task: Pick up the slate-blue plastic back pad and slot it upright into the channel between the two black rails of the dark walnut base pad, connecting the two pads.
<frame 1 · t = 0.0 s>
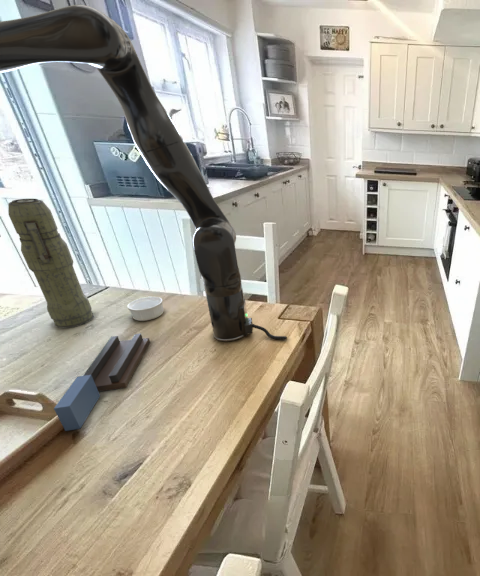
ramekin: (148, 315, 101), on the table
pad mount: (117, 365, 80), on the table
olive green tall column: (75, 320, 96), on the table
back pad: (83, 412, 67), on the table
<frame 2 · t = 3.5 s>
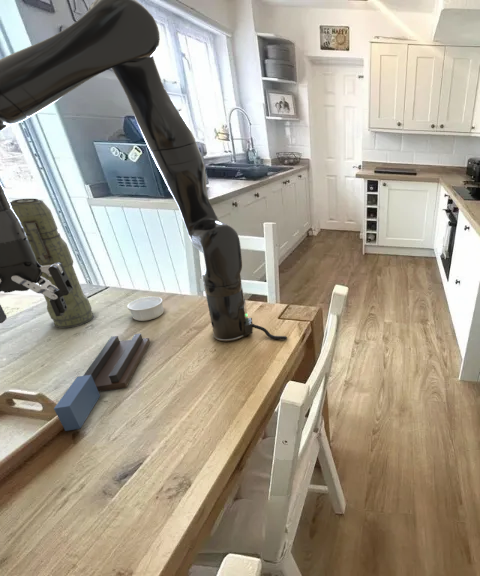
hand: (32, 317, 62), 20 cm above the table, tool pointing down, fingers open, 8 cm apart
nothing on the table moved.
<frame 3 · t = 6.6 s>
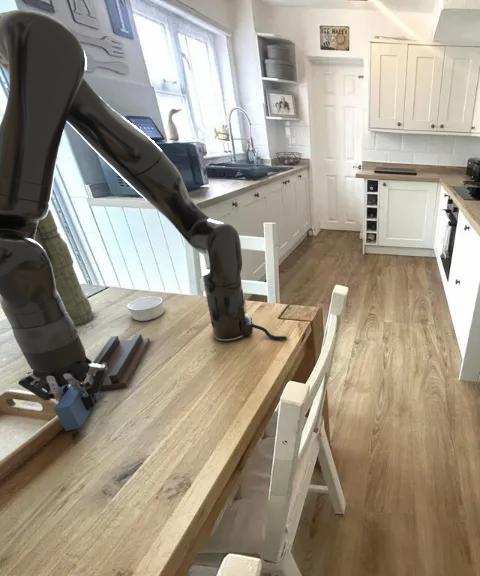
hand: (82, 408, 66), 1 cm above the table, tool pointing down, fingers closed on back pad, 2 cm apart
back pad: (84, 412, 67), on the table, touching gripper
everything else where it was.
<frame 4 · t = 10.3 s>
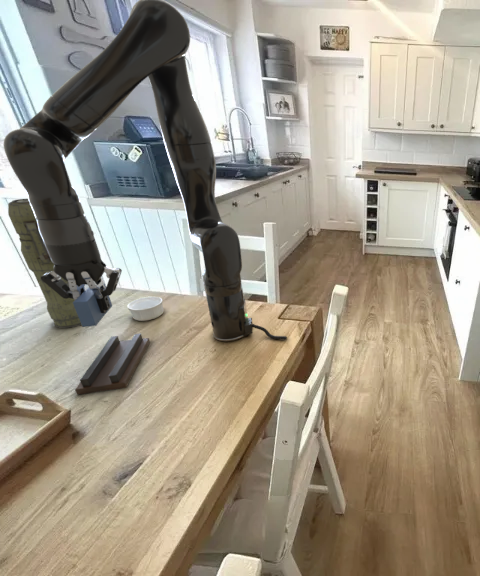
hand: (97, 311, 73), 16 cm above the table, tool pointing down, fingers closed on back pad, 2 cm apart
back pad: (98, 315, 73), point 14 cm above the table, touching gripper
everything else where it was.
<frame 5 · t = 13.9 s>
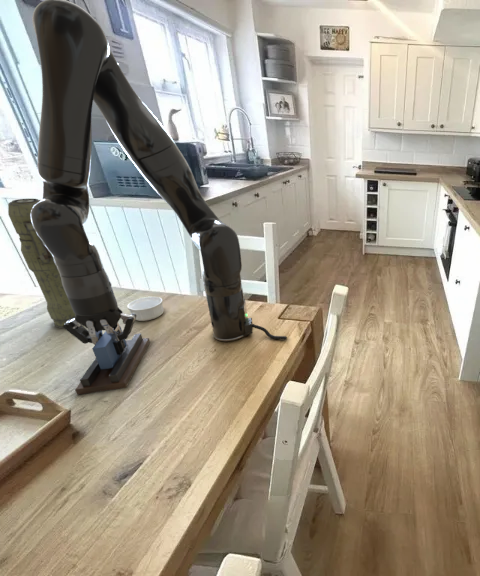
hand: (113, 353, 78), 4 cm above the table, tool pointing down, fingers closed on back pad, 2 cm apart
back pad: (114, 356, 79), point 3 cm above the table, touching gripper
everything else where it was.
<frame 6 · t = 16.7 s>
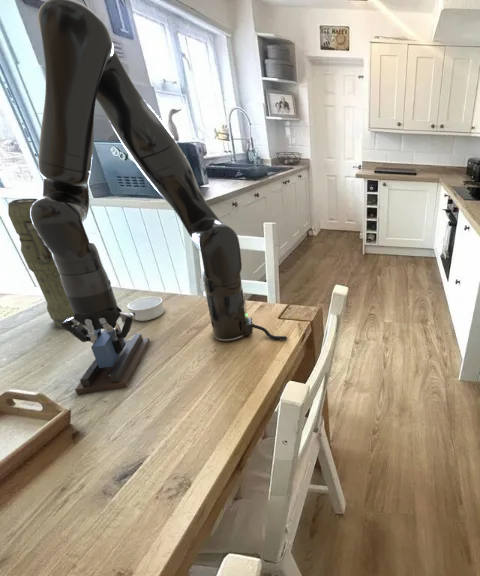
hand: (112, 352, 78), 4 cm above the table, tool pointing down, fingers closed on back pad, 2 cm apart
back pad: (113, 355, 78), point 3 cm above the table, touching gripper
everything else where it was.
when the fingers open (5 cm above the table, at t = 19.3 s): back pad drops 3 cm, resting on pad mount.
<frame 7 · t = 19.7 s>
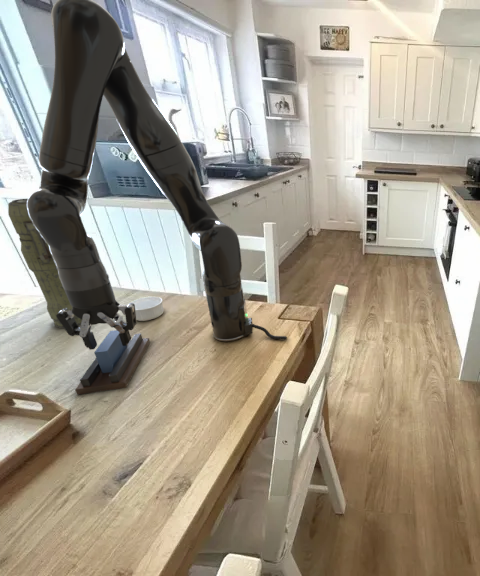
hand: (110, 345, 77), 6 cm above the table, tool pointing down, fingers open, 6 cm apart
back pad: (116, 360, 79), point 1 cm above the table, touching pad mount
everything else where it was.
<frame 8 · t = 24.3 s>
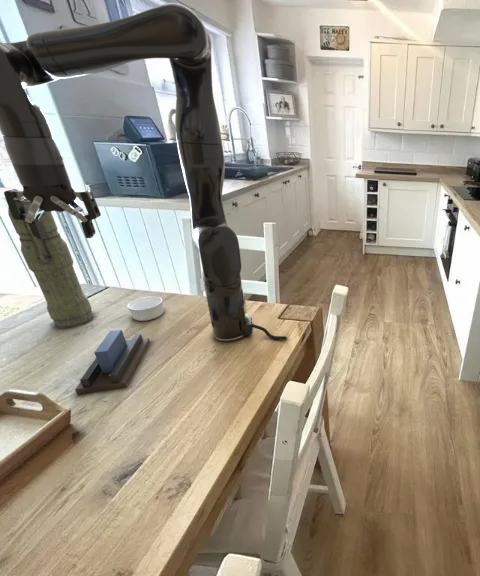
hand: (67, 237, 73), 30 cm above the table, tool pointing down, fingers open, 8 cm apart
nothing on the table moved.
at the end: back pad 0.1 cm off-centre on the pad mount, point 1.5 cm above the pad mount's base; back pad tilted 0°; the gripper is holding nothing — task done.
